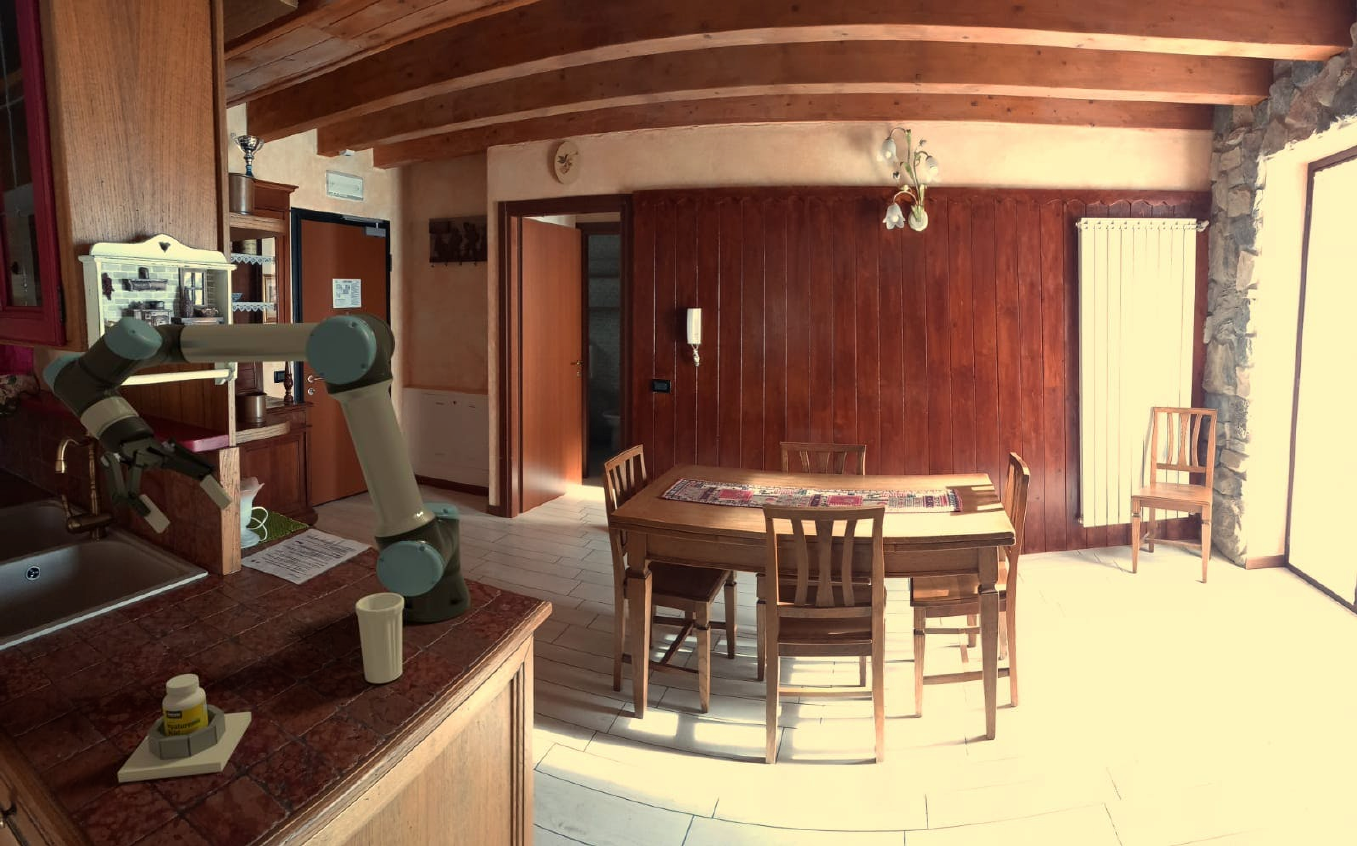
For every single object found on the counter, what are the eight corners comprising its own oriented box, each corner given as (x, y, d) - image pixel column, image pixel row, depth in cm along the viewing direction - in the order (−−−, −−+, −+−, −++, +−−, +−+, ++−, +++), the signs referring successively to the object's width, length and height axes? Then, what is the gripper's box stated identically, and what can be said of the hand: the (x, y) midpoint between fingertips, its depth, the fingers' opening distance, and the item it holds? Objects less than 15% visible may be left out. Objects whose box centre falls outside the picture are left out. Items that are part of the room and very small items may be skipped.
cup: (392, 690, 130) (388, 613, 127) (349, 685, 131) (344, 609, 128) (416, 667, 137) (413, 594, 135) (376, 662, 139) (372, 590, 136)
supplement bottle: (163, 754, 109) (155, 693, 107) (171, 733, 114) (164, 674, 112) (206, 746, 111) (200, 685, 109) (212, 726, 116) (206, 668, 114)
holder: (251, 719, 120) (249, 694, 119) (221, 771, 108) (218, 743, 107) (160, 728, 117) (157, 702, 116) (118, 782, 105) (115, 753, 104)
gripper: (168, 428, 147) (240, 508, 147) (36, 457, 123) (122, 552, 123) (188, 403, 145) (261, 484, 144) (58, 427, 121) (145, 524, 121)
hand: (197, 516), depth 134 cm, fingers open, 13 cm apart
